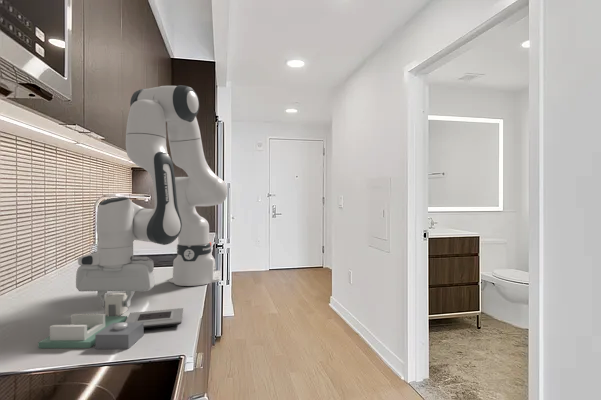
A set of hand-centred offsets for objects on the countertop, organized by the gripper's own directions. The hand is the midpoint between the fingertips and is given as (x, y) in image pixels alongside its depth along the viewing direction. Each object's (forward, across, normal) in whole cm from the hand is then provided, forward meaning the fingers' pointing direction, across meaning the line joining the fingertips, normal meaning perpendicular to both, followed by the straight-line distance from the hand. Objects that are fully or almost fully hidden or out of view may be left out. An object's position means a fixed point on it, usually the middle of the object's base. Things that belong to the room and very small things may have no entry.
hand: (116, 306), depth 97 cm
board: (+2, 0, +14) cm, 14 cm away
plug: (+2, 0, 0) cm, 2 cm away
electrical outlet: (+2, -14, +8) cm, 16 cm away
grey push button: (+2, -11, +19) cm, 22 cm away
